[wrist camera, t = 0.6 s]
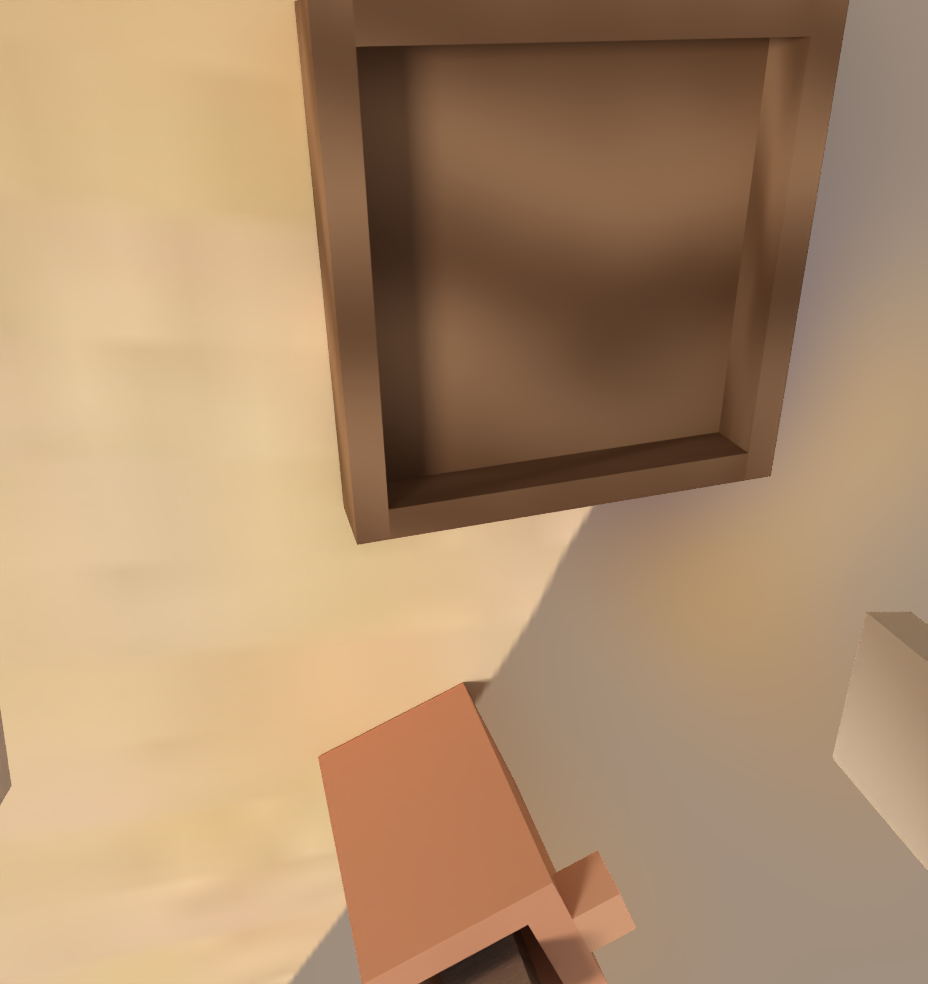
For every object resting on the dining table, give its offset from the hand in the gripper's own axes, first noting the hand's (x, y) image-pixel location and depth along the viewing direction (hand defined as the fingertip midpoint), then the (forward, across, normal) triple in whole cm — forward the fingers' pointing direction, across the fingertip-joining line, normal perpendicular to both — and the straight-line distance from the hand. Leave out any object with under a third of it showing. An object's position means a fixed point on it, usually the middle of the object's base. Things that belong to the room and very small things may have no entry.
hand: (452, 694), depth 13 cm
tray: (+15, +4, +5) cm, 16 cm away
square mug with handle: (+17, +1, -14) cm, 22 cm away
